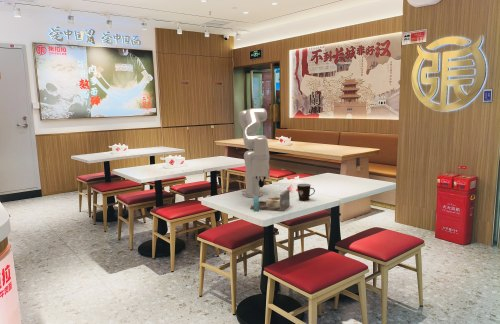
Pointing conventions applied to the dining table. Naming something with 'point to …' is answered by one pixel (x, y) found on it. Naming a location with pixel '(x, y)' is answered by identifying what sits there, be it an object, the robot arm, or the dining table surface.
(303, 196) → the coffee mug
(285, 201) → the rail board
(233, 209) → the dining table surface
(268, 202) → the slider block
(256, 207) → the dowel
